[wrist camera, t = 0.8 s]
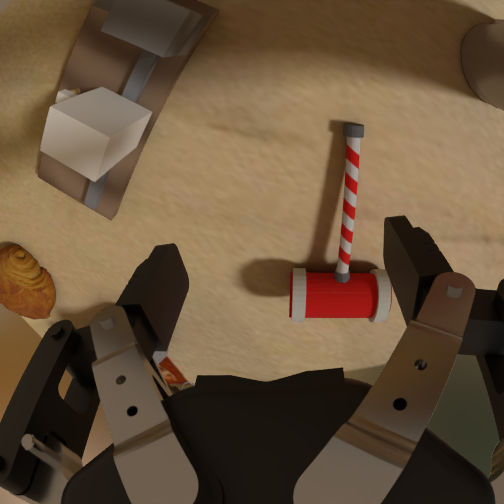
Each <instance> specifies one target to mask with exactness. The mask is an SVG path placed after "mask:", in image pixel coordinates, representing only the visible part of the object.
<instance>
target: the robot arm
mask: <svg viewBox="0 0 504 504" xmlns="http://www.w3.org/2000/svg"><path fill="white" fill-rule="evenodd" d="M461 60H462V67H463V71H464V74H465V77H466V79H467V81H468V83H469V85H470V87H471V88H472V90H473V91H474V93H475V94H476V95H477V96H478V97H479V98H480V99H482V100H483V101H485V102H486V103H489V104H491V105H493V106H494V107H496V108H499V109H501V110H504V20H501V19H496V20H495V21H494V22H493V23H492V24H480V25H477V26H475V27H473V28H472V29H471V30H470V31H469V32H468V33H467V35H466V37H465V39H464V41H463V45H462V50H461ZM383 257H384V265H385V269H386V271H387V274H388V277H389V279H390V282H391V284H392V287H393V289H394V292H395V295H396V297H397V300H398V303H399V306H400V308H401V311H402V314H403V317H404V320H405V322H406V325H407V328H406V330H405V332H404V334H403V335H402V337H401V339H400V341H399V343H398V344H397V346H396V348H395V350H394V351H393V353H392V355H391V357H390V358H389V360H388V362H387V363H386V365H385V367H384V368H383V370H382V372H381V373H380V375H379V377H378V378H377V380H376V381H375V383H374V385H373V386H372V385H370V384H368V383H365V382H362V381H359V380H354V379H349V378H344V372H343V367H342V368H334V369H324V370H314V371H305V372H302V373H298V374H295V375H292V376H288V377H284V378H281V379H277V380H274V381H269V382H263V381H258V380H252V379H247V378H242V377H237V376H232V375H197V379H196V383H195V386H192V387H189V388H186V389H183V390H181V391H178V392H176V393H174V394H173V395H172V393H171V391H170V389H169V387H168V385H167V383H166V381H165V379H164V377H163V375H162V373H161V371H160V369H159V367H158V365H157V363H156V361H155V360H154V358H153V354H154V352H155V351H162V352H167V349H168V346H169V343H170V340H171V337H172V334H173V331H174V328H175V326H176V323H177V320H178V317H179V314H180V312H181V309H182V306H183V303H184V300H185V298H186V295H187V292H188V289H189V278H188V274H187V272H186V269H185V266H184V264H183V261H182V258H181V256H180V253H179V250H178V248H177V246H176V245H175V244H174V243H172V244H165V245H158V246H155V248H154V249H153V251H152V253H151V254H150V256H149V258H148V259H146V260H145V261H144V262H142V263H141V264H140V265H139V266H138V267H137V268H136V270H135V272H134V273H133V275H132V277H131V279H130V280H129V282H128V284H127V285H126V287H125V289H124V291H123V292H122V294H121V296H120V298H119V299H118V301H117V303H116V305H115V306H110V307H107V308H105V309H103V310H101V311H100V312H98V313H97V314H96V315H95V316H94V318H93V319H92V321H91V324H90V326H87V327H84V328H80V329H77V330H76V328H75V327H74V325H73V324H72V322H71V321H69V320H62V321H59V322H57V323H55V324H54V325H52V326H51V327H50V328H49V329H48V330H47V332H46V333H45V335H44V337H43V339H42V340H41V342H40V344H39V346H38V348H37V349H36V351H35V353H34V355H33V357H32V358H31V360H30V362H29V364H28V366H27V368H26V370H25V372H24V373H23V376H22V377H21V380H20V381H19V383H18V385H17V388H16V390H15V392H14V394H13V396H12V398H11V400H10V402H9V405H8V406H7V409H6V411H5V413H4V415H3V418H2V420H1V422H0V487H2V488H4V489H5V490H7V491H9V492H10V493H11V494H12V495H14V496H16V497H18V498H20V499H22V500H24V501H26V502H28V503H30V504H504V279H503V280H501V281H500V283H499V285H498V288H497V291H496V290H484V289H476V288H475V285H474V284H473V282H472V281H471V280H470V279H469V278H468V277H466V276H465V275H463V274H460V273H456V272H454V271H453V270H452V268H451V266H450V265H449V263H448V262H447V260H446V259H445V257H444V255H443V254H442V252H441V251H439V248H438V246H437V245H436V244H435V242H434V240H433V239H432V237H431V236H430V235H429V233H427V232H426V231H424V230H423V229H421V228H420V227H415V228H413V227H412V225H411V224H410V222H409V221H408V219H407V218H406V216H404V215H403V216H394V217H386V218H385V221H384V249H383ZM457 354H463V355H476V358H477V361H478V363H479V366H480V369H481V372H482V375H483V379H484V382H485V385H486V388H487V391H488V395H489V398H490V402H491V406H492V409H493V413H494V417H495V421H496V425H497V430H498V434H499V438H500V442H499V443H498V444H497V445H496V447H495V449H494V451H493V454H492V459H491V473H490V476H489V478H487V477H486V475H485V474H484V473H483V472H481V471H480V470H479V469H478V468H477V467H475V466H474V465H472V464H471V463H470V462H469V461H468V460H466V459H465V458H464V457H463V456H461V455H460V454H459V453H458V452H456V451H455V450H454V449H452V448H451V447H450V446H449V445H448V444H446V443H445V442H444V441H443V440H442V439H440V438H439V437H438V436H437V435H435V434H434V433H433V432H432V431H430V430H429V429H428V428H427V427H426V426H427V424H428V422H429V420H430V418H431V416H432V414H433V412H434V410H435V407H436V405H437V403H438V401H439V399H440V397H441V394H442V392H443V389H444V387H445V385H446V383H447V380H448V377H449V375H450V373H451V370H452V367H453V365H454V362H455V359H456V357H457ZM65 369H66V370H67V371H68V372H69V374H70V375H71V376H72V377H73V379H72V381H71V383H70V386H69V388H68V391H67V393H66V395H65V398H64V400H63V399H62V398H61V397H60V395H59V392H58V385H59V382H60V380H61V378H62V376H63V374H64V371H65ZM100 401H101V404H102V408H103V411H104V415H105V418H106V421H107V425H108V427H109V431H110V434H111V437H112V440H113V444H111V445H110V446H109V447H108V448H106V449H105V450H104V451H103V452H101V453H100V454H99V455H98V456H96V457H95V458H94V459H93V460H91V461H90V462H89V463H88V464H86V465H85V466H84V467H83V465H82V456H83V453H84V450H85V446H86V443H87V440H88V437H89V433H90V430H91V427H92V424H93V421H94V418H95V415H96V412H97V409H98V406H99V403H100Z"/></svg>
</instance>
